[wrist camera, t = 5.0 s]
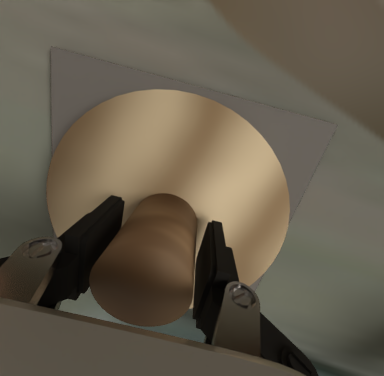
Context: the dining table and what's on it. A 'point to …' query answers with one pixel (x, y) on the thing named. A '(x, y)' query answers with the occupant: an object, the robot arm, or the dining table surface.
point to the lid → (168, 196)
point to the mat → (139, 80)
